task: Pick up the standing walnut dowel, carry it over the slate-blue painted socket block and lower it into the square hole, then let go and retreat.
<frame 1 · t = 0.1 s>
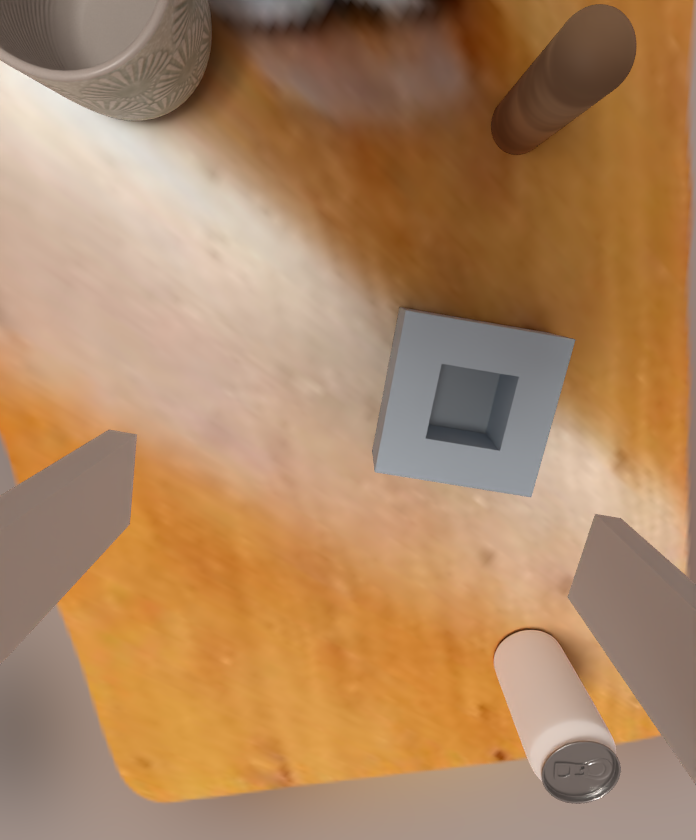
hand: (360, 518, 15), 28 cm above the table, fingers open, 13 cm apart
can: (526, 654, 49), on the table
planter: (139, 40, 36), on the table
dowel: (519, 123, 37), on the table
socket: (457, 393, 42), on the table
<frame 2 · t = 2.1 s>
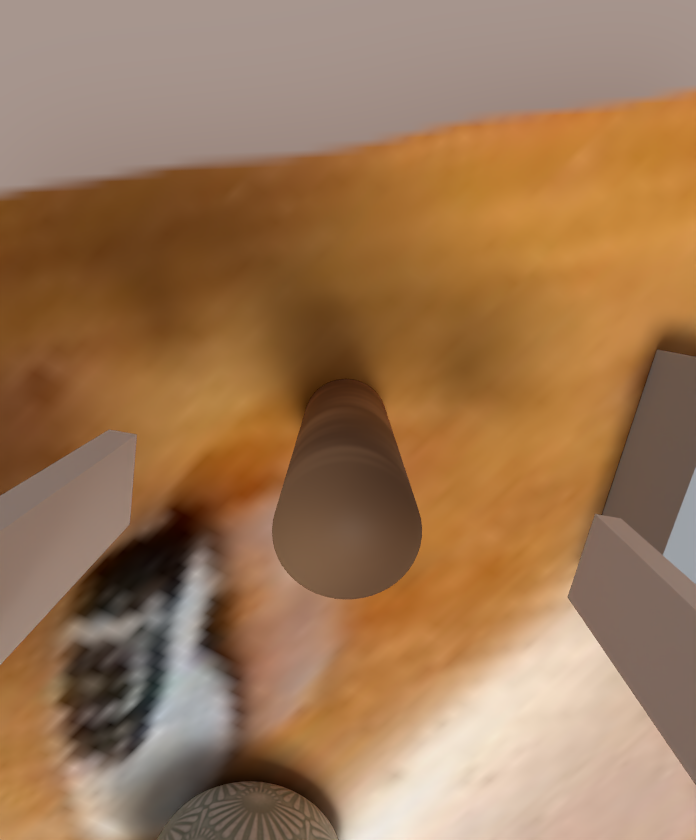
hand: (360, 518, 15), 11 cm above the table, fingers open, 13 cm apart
planter: (254, 830, 32), on the table
dowel: (345, 419, 25), on the table
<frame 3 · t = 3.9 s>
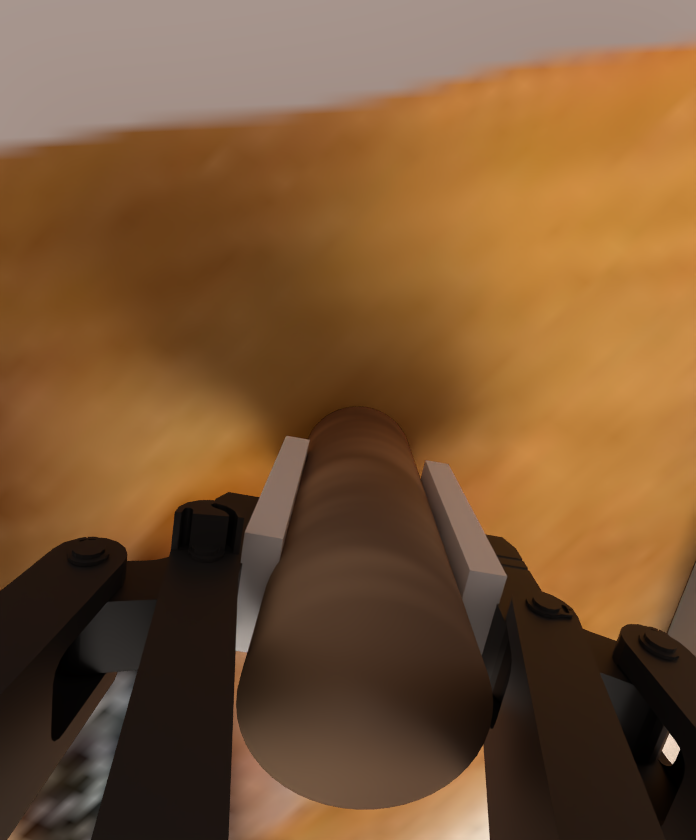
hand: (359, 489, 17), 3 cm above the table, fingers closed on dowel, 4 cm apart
dowel: (357, 457, 20), on the table, touching gripper
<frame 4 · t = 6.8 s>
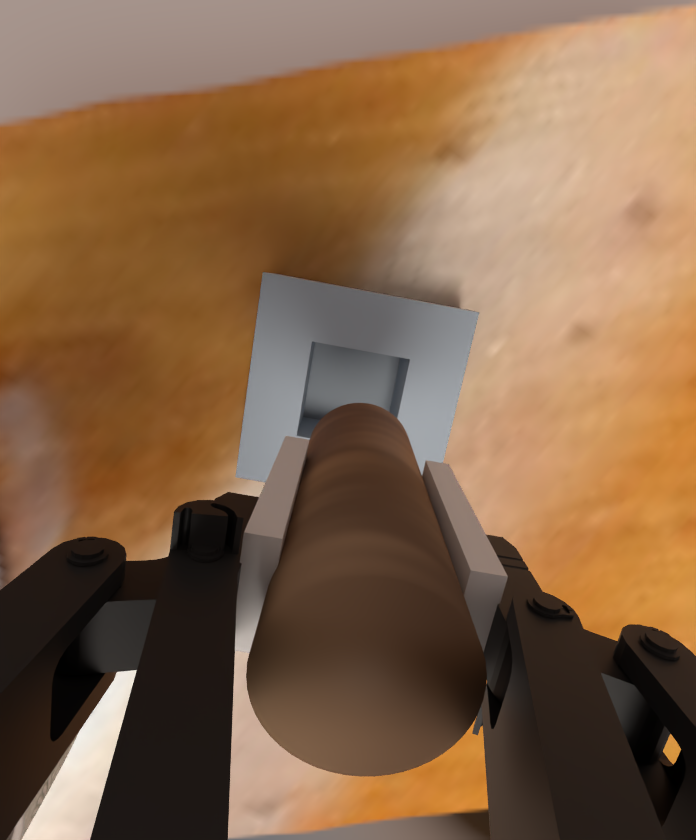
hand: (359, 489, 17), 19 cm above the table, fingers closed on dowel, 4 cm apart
planter: (29, 670, 41), on the table
dowel: (359, 452, 20), point 15 cm above the table, touching gripper
socket: (351, 382, 35), on the table
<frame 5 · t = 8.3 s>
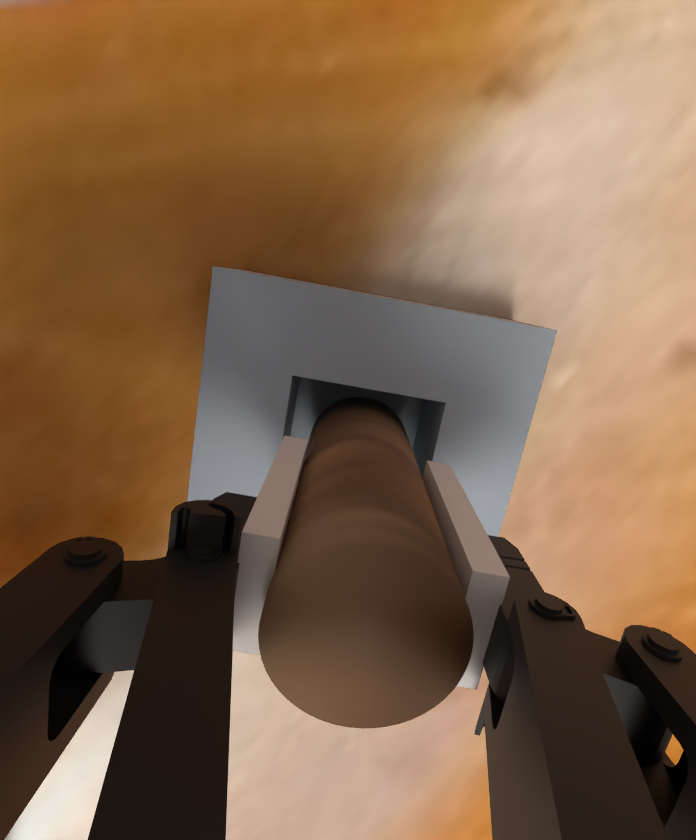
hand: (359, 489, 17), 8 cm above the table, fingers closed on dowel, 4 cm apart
dowel: (358, 444, 21), point 3 cm above the table, touching gripper
socket: (354, 425, 24), on the table
when the fingers open (6 cm above the table, at t = 9.6 s): dowel stays where it is, resting on socket.
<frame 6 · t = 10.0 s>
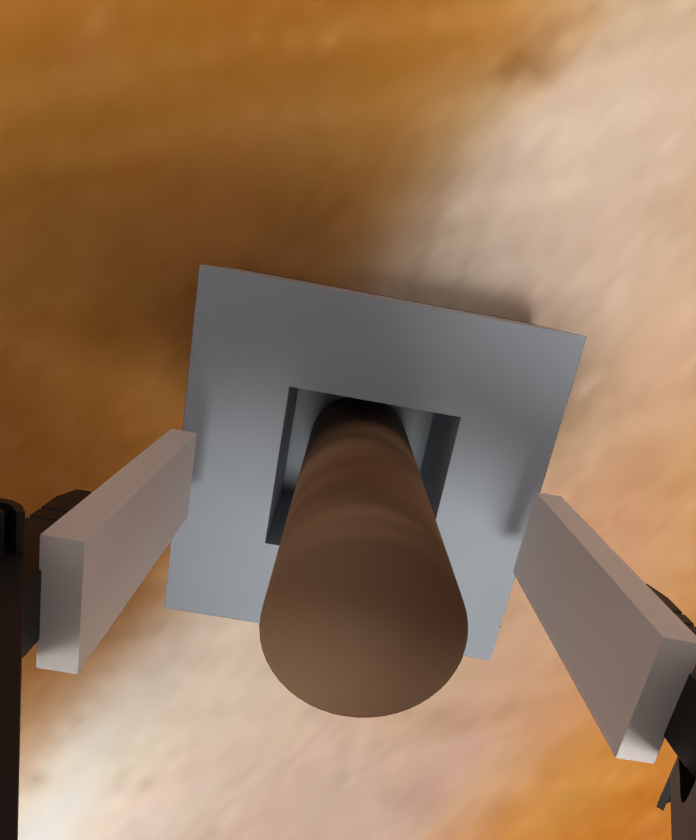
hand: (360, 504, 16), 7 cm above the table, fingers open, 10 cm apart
dowel: (358, 442, 22), point 1 cm above the table, touching socket
socket: (358, 438, 22), on the table
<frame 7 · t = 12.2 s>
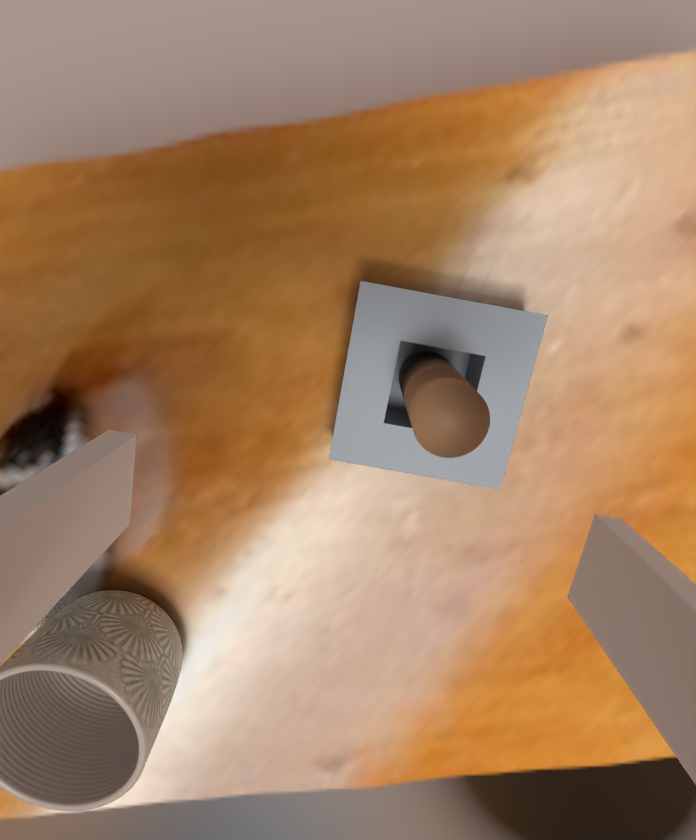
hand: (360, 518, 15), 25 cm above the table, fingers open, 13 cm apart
planter: (127, 634, 46), on the table
dowel: (425, 378, 38), point 1 cm above the table, touching socket
socket: (424, 376, 39), on the table
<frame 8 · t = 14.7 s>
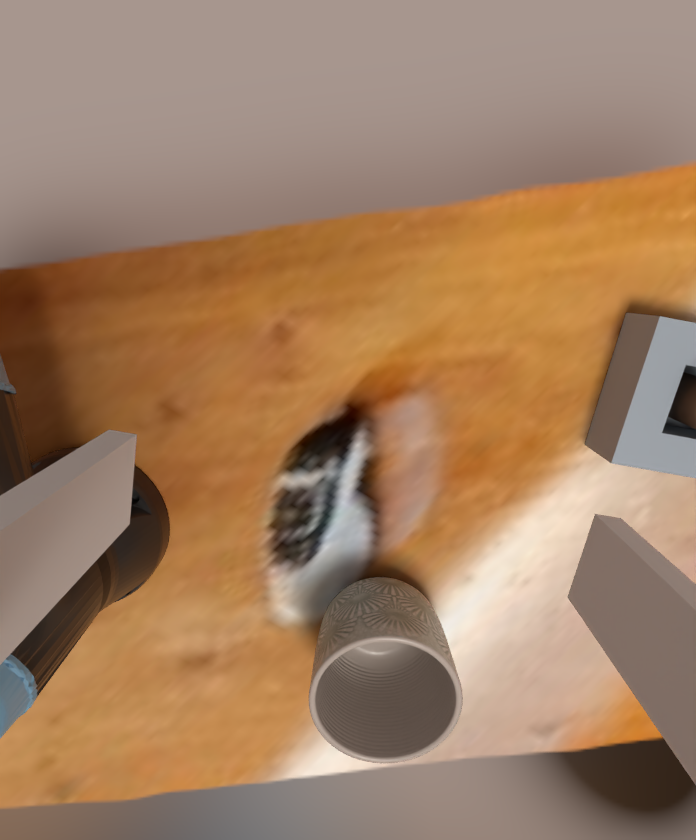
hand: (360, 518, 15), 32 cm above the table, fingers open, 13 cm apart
planter: (378, 616, 52), on the table
dowel: (674, 394, 45), point 1 cm above the table, touching socket
socket: (670, 392, 46), on the table
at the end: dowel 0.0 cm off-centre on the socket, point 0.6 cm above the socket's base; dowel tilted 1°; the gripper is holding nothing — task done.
